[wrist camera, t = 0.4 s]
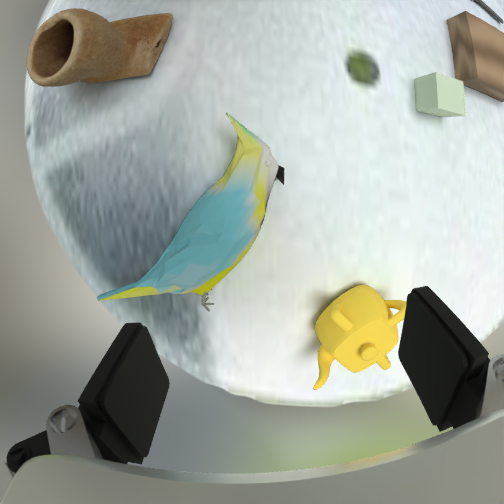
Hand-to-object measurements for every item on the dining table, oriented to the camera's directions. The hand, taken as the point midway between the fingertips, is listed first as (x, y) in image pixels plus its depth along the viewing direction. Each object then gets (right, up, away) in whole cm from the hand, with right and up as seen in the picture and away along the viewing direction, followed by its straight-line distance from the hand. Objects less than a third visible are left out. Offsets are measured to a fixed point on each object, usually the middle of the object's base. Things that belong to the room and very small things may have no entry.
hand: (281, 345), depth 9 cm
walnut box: (+36, +35, +18) cm, 54 cm away
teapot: (+14, -7, +35) cm, 38 cm away
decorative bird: (-10, +9, +29) cm, 32 cm away
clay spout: (-19, +31, +21) cm, 42 cm away
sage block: (+25, +25, +22) cm, 42 cm away
